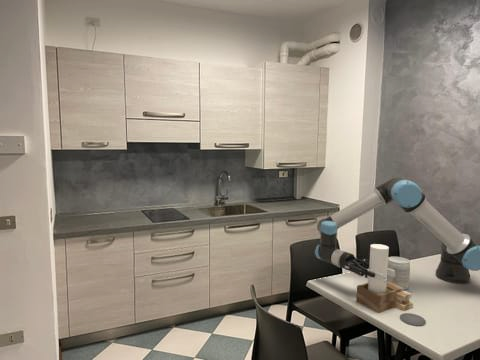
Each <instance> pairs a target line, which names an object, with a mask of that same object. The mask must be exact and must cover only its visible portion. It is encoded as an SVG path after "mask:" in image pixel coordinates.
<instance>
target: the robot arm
mask: <svg viewBox="0 0 480 360" xmlns="http://www.w3.org/2000/svg"><path fill="white" fill-rule="evenodd" d="M392 202H393V203H395V204H396V205H397V206H398V207H399V208H400V209H402V210H403V211H404V213H406V214H411V215H412V216H413V217H415V218H416V219H417V220H418V221H419V222H420V223H421V224H422V225H423V226H425V228H426V229H428V231H430V232H431V233H432V234H433V235H434V236H435V237H436V238H437V239H438V240H439V241H440V242H441V249H440V251H441V252H440V261H439V263H438V265H437V268H436V269H435V276H436V278H438V279H440V280H442V281H446V282H449V283H454V284H468V283H470V282H471V273H470V271H472V272H474V271H475V272H476V271H480V245H479V244H478V243H477V242H476V241H475V240H474V239H472V237H471V236H470V235H469V234H468V233H461V232H460V231H459V230H458V229H457V228H456V227H455V226H454V225H453V224H452V223H450V222H449V221H448V220H447V219H446V218H445V216H443V215H442V214H441V213H440V212H439V211H438V210H437V209H436V208H435V207H434V206H433V205H431V204H430V203H429V201H427V195H426V194H424V192H423V191H422V190H421V188H420V186H419V185H418V184H416V183H415V182H413V181H411V180H409V179H408V180H407V179H404V178H401V177H395V178H391V179H388V180H386V181H385V182H383V183H381V184H379V185H378V186H376V187H375V188H373V191H371V192H370V193H368V194H367V195H365V196H363V197H361V198H359V199H358V200H356V201H354V202H352V203H351V204H349V205H347V206H345V207H344V208H342V209H340V210H339V211H337V212H334V214H331V215H330V216H328V217H325V218H320V219H319V220H318V221H317V224H316V229H317V231H318V232H319V235H320V242H319V244H317V245H316V246H315V249H314V256H315V257H316V258H317V259H319V260H321V261H323V262H326V263H329V264H332V265H334V266H336V267H337V268H342V269H344V270H345V271H349V272H351V273H354V274H356V275H358V276H360V277H364V278H367V279H369V277H372V278H375V279H377V280H380V281H383V278H384V274H381V273H378V272H375V271H373V270H369V263H370V259H368V258H367V259H366V258H365V257H364V258H362V259H360V258H356V256H355V255H354V253H350V252H347V251H344V250H341V249H339V248H337V237H338V236H337V235H338V230H339V229H340V228H341V227H344V226H345V225H347V224H349V223H351V222H352V221H354V220H356V219H358V218H360V217H361V216H363V215H365V214H367V213H369V212H371V211H372V210H374V209H376V208H378V207H380V206H381V205H388V204H389V203H392ZM387 275H389V276H392V277H395V270H392V269H389V268H388V270H387Z"/></svg>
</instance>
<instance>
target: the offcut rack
mask: <svg viewBox="0 0 480 360" xmlns="http://www.w3.org/2000/svg"><path fill="white" fill-rule="evenodd" d="M412 296H413V295H412V293H411V292H409V291H408V292H406V291H404V288H402V287H400V286H397V285H395V284H393V283H391V282H389V281H387V286H386V293H383V294H380V295H378V294H376V293H374V292H372V291H370V290H368V282H365V283H362V284H358V285H356V297H355V302H357V303H358V304H361V305H362V306H364V307H366V308H368V309H370V310H371V311H374V312H376V313H382V312H385V311H387V310H390V309H394V308H396V309H399V310H401V311H403V312H404V311H407V310H410V309H413V308H414V303H413V302H412V301H410V299H411V298H412Z"/></svg>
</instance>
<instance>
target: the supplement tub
mask: <svg viewBox="0 0 480 360" xmlns="http://www.w3.org/2000/svg"><path fill="white" fill-rule="evenodd" d="M410 262H411V261H410V260H409V259H408V258H406V257H401V256H388V268H389V269H392V270H395V277H392V276H389V275H387V281H389V282H391V283H393V284H395V285H397V286H400V287H402V288H404V291H406V292H409V291H410V290H409V288H410V270H411V263H410Z"/></svg>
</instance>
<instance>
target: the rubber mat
mask: <svg viewBox="0 0 480 360" xmlns="http://www.w3.org/2000/svg"><path fill="white" fill-rule="evenodd" d="M399 319H400V321H401V322H402V323H405V324H407V325H410V326H414V327H422V326H425V325H426V323H427V321H426V319H425V318H424V317H423V316H421V315H418V314H416V313H411V312H408V313H407V312H405V313H402V314H400V316H399Z"/></svg>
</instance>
